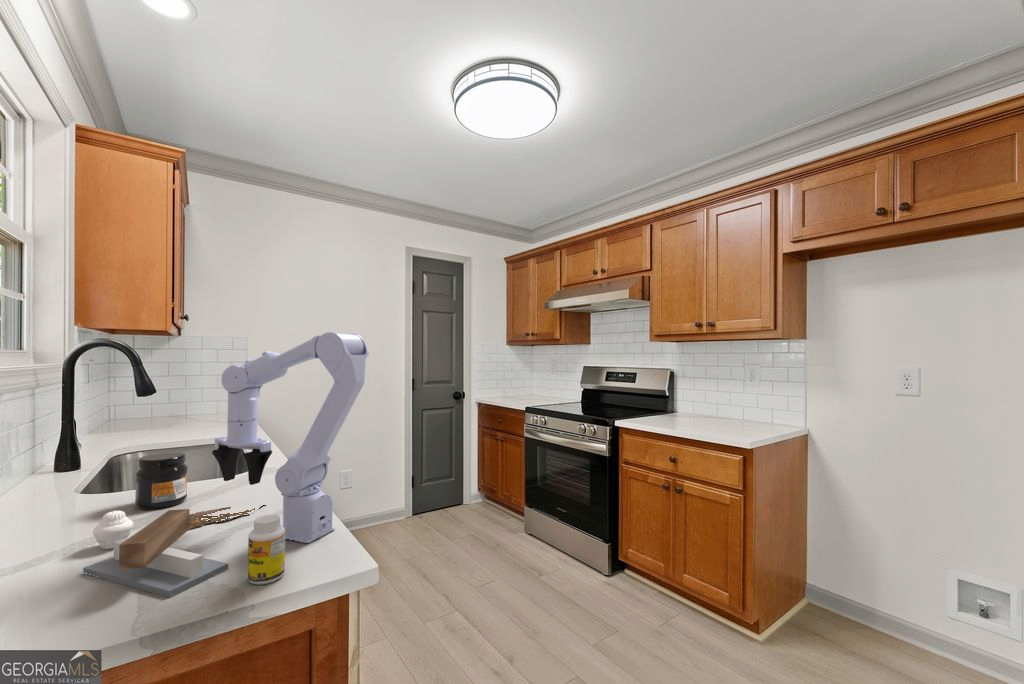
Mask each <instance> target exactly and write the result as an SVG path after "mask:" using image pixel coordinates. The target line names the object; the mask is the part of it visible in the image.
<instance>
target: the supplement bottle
mask: <svg viewBox="0 0 1024 684" xmlns="http://www.w3.org/2000/svg"><path fill="white" fill-rule="evenodd" d="M247 540H248V551H247V552H248V553H247V554H248V555H247V580H248V582H249V583H250V584H252V585H259V586H260V585H267V584H271V583H275V582H276V581H278V580H279V579H281V578H282V577H283V575H284V574H285V565H286V564H285V563H286V561H285V558H286V557H285V555H286V554H285V553H286V552H285V551H286V539H285V528H284V527H283V525H281V517H280V515H279V514H265V515H260V516H258V517H256V518H254V521H253V529H252V530H251V531H250V532H249V534H248V539H247Z"/></svg>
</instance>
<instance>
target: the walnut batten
mask: <svg viewBox="0 0 1024 684" xmlns="http://www.w3.org/2000/svg"><path fill="white" fill-rule="evenodd" d="M189 515H191V514H190V508H183V509H170V510H169V509H168V510H167V511H165V512H164V513H163V514H161V515H160V516H158V517H157V518H156V519H154V520H153V521H151V522H150V523H148V524H147V525H145V527H143V528H141V529H140V530H138V531H137V532H136V533H134V534H133V535H131V536H130V537H128V539H127V540H126V541H124V542H123V543H121V544H120V545H119V570H125V569H136V568H145V567H146V566H147V565H148V564H149V563H151V562H152V561H153V560H154V559H155V558H156V557H158V556H159V555H160V554H161V553H162V552H163V551H165V550H166V549H167V548H168V547H169V548H170V547H171V546H172V545H173V544H175V542H177V541H178V540H179V539H180V538H181V537H182V536H183V535H185V533H187V532H188V531H190V529H189Z"/></svg>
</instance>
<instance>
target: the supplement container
mask: <svg viewBox="0 0 1024 684" xmlns="http://www.w3.org/2000/svg"><path fill="white" fill-rule="evenodd" d="M185 462H186V453H184V452H181V451H169V452H168V451H167V452H159V453H151V454H147V455H143V456H141V457H139V458H138V459H137V467H138V469H137V470H136V471H135V474H134V477H135V495H134V496H135V500H134V505H135V507H136V508H138V509H139V510H144V511H145V510H146V511H147V510H148V511H150V510H151V511H153V510H160V509H165V508H166V509H167V508H171V507H174V506H177V505H179V504H181V503H183V502H184V501H185V500H186V499H187V497H188V492H187V491H188V488H187V487H188V470H189V469H188V465H187V464H186V463H185Z"/></svg>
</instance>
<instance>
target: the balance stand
mask: <svg viewBox="0 0 1024 684" xmlns="http://www.w3.org/2000/svg"><path fill="white" fill-rule="evenodd" d="M128 538H129V537H128ZM128 538H125V539H122V540H119V541H116V542H114V548H113V556H112V557H108V558H106V559H103V560H100V561H97V562H96V563H92V564H90V565H87V566H84V567H82V573H83V572H84V573H87V574H91V575H94V576H97V577H96V578H98V577H100V578H99V579H101V578H102V580H106V581H109V582H112V583H115V584H116V583H117V584H120V585H122V586H123V585H124V586H127V587H130V588H134V589H137V590H141V591H145V592H149V593H152V594H156V595H160V596H163V597H166V598H172V597H174V596H175V595H179V594H180V593H182V592H183V591H186V590H188V589H190V588H192V587H195V586H196V585H198V584H200V583H202V582H205V581H207V580H208V579H210V578H213V577H215V576H217V575H218V574H221V573H223V572H225V571H227V570H228V569H229V563H228V562H223V561H219V560H215V559H210V558H206V557H203V554H200V553H195V552H191V551H186V550H183V549H179V548H173V547H170V546H169V547H168V548H167V549H166V550H165V551H163V552H162V553H161V554H160V555H159V556H158V557H156V558H155V559H154V560H153V561H152V562H151V563H149V564H148V565H147V566H146V567H145V568H136V569H125V570H119V545H120V544H121V543H123V542H124V541H126V540H127V539H128ZM87 574H86V575H87ZM94 576H93V577H94Z"/></svg>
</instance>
